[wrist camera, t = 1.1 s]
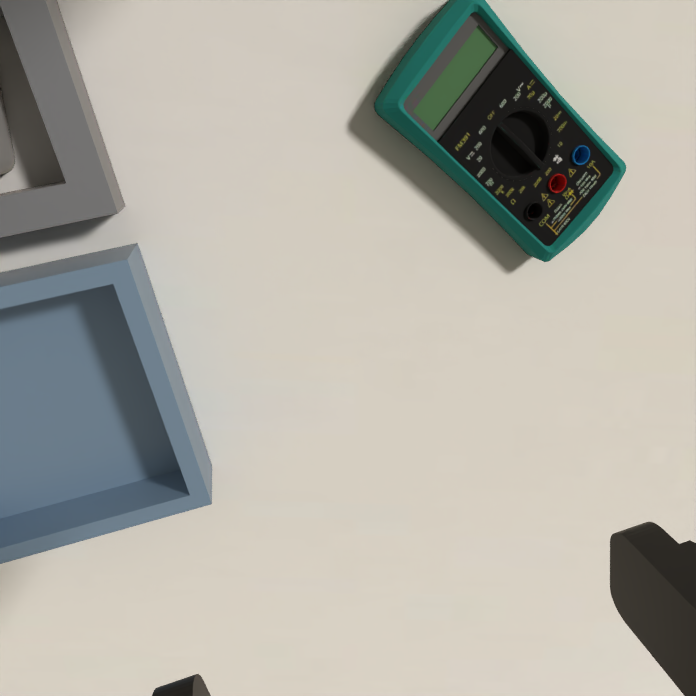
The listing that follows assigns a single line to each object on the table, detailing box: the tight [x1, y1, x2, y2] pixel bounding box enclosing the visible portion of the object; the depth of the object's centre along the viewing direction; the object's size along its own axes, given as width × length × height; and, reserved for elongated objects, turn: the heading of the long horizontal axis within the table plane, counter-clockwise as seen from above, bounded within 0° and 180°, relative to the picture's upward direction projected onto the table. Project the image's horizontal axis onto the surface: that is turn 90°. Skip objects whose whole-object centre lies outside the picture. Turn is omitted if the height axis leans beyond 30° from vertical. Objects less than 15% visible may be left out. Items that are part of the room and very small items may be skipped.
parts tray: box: [0, 243, 212, 564], centre depth 30 cm, size 15×15×4 cm
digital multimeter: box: [374, 0, 626, 262], centre depth 32 cm, size 7×15×3 cm, turn 51°
